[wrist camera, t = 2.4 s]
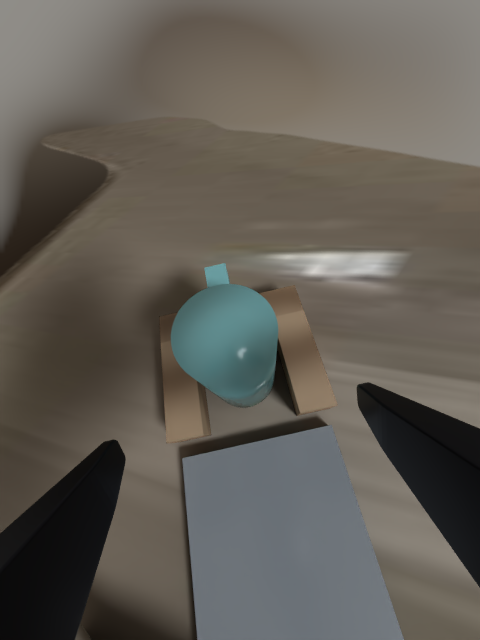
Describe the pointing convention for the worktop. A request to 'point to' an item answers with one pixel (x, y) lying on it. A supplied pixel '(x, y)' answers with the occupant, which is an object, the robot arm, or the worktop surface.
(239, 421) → the worktop surface
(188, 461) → the coaster
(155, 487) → the worktop surface
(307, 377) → the bracket
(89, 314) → the worktop surface
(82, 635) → the beer glass
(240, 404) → the teal gourd with tab
